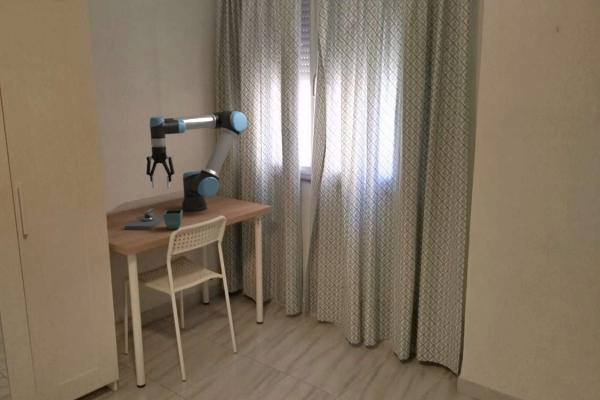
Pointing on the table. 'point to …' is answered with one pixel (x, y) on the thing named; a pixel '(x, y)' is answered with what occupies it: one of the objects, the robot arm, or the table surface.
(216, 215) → the table surface
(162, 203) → the table surface
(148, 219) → the dial lever
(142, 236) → the table surface
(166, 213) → the flower pot
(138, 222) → the dial plate
